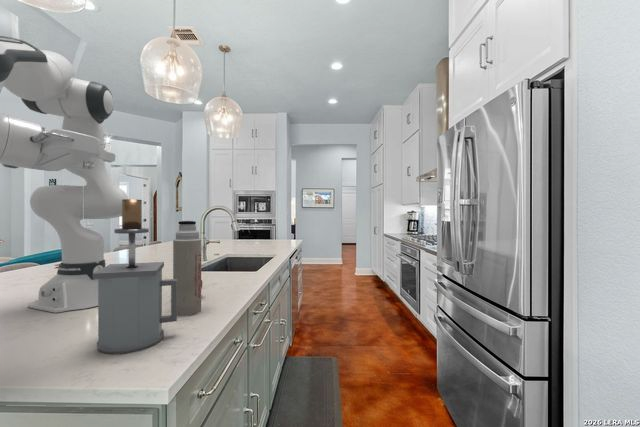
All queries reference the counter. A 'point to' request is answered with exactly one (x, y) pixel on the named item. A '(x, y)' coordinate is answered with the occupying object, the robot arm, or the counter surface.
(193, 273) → the thermos bottle
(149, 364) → the counter surface
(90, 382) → the counter surface
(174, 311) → the press carafe
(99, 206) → the robot arm
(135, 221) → the brown candle holder
